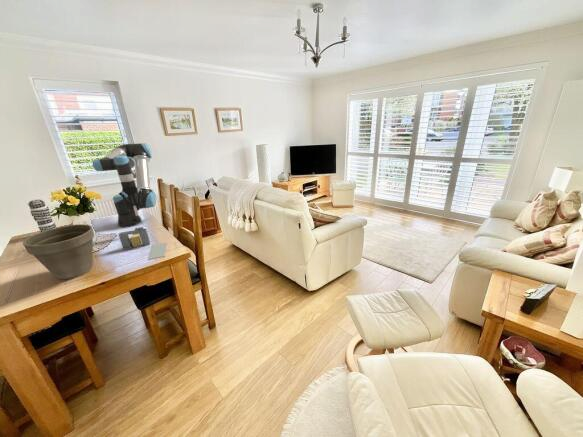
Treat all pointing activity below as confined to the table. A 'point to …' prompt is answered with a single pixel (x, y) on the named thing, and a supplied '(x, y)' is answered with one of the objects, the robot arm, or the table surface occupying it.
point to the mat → (158, 251)
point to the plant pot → (64, 250)
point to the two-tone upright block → (136, 238)
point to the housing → (142, 232)
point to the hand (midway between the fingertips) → (137, 215)
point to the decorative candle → (41, 215)
